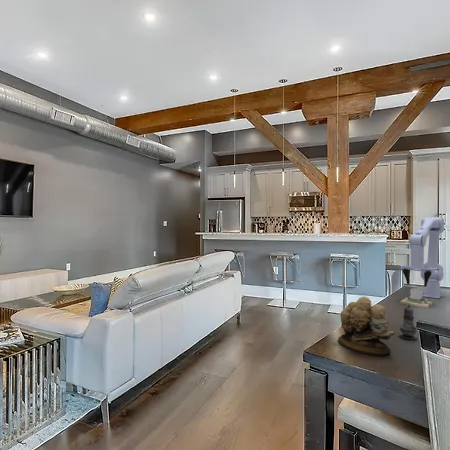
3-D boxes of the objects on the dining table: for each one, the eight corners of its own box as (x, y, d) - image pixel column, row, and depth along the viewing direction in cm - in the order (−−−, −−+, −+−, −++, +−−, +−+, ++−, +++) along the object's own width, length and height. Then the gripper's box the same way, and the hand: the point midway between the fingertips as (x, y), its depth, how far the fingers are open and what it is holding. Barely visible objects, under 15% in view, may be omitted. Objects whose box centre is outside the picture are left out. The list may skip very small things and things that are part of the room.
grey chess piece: (395, 334, 120) (395, 302, 119) (410, 334, 120) (411, 302, 120) (405, 340, 114) (406, 306, 113) (421, 340, 114) (422, 306, 114)
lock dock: (406, 299, 173) (406, 295, 173) (432, 303, 164) (432, 299, 164) (400, 303, 165) (400, 298, 165) (427, 308, 156) (427, 303, 156)
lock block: (412, 299, 168) (412, 288, 168) (422, 301, 165) (422, 289, 164) (410, 301, 164) (410, 289, 164) (420, 303, 161) (420, 290, 161)
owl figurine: (400, 351, 105) (401, 298, 105) (385, 361, 97) (386, 305, 97) (347, 335, 118) (348, 289, 118) (330, 344, 110) (331, 294, 110)
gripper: (399, 257, 166) (398, 284, 166) (432, 260, 156) (431, 288, 157) (403, 256, 171) (402, 282, 172) (435, 259, 161) (434, 286, 162)
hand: (416, 285), depth 164 cm, fingers open, 7 cm apart
